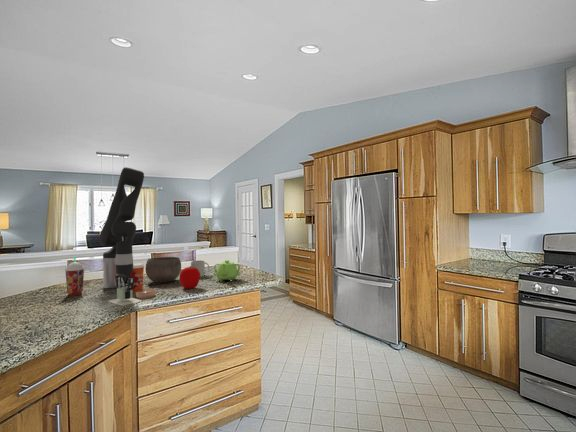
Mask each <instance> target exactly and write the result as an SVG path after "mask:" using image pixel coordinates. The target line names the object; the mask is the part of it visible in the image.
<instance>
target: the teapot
mask: <svg viewBox="0 0 576 432" xmlns="http://www.w3.org/2000/svg"><path fill="white" fill-rule="evenodd" d="M237 267H238V268H237ZM213 268H214V269H213V270H214V271H213V276H215V277H216V278H217V279H218V280H219V282H220V281H222V282H224V281H223V280H226V281H227V280H228V281H229V280H235V279H236V278H237V276H238V277H239V276H241V274H242V273H241V272H240V269H241V265H240V264H238V263H235V262H232V261H230V260H228V259H227V260H224V262H220V263H216V264H214V267H213ZM234 278H235V279H234Z"/></svg>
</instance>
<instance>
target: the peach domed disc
mask: <svg viewBox="0 0 576 432" xmlns="http://www.w3.org/2000/svg"><path fill="white" fill-rule="evenodd" d="M155 296H156V289H153V288H146V289H144V288H143V290H139V291H136V292H135V299H150V298H155Z"/></svg>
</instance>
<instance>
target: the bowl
mask: <svg viewBox="0 0 576 432" xmlns="http://www.w3.org/2000/svg"><path fill="white" fill-rule="evenodd" d="M181 261H182V260H181V259H180V257H179V256H178V257H177V256H164V257H163V256H161V257H152V258H147V261H146V263H145V267H144V268H145V274H146V277H148V279H149V280H150V281H152V282H154V283H167V282H168V283H169V282H172V281H174V280H176V279H178V277H180V273H181V271H182V262H181Z"/></svg>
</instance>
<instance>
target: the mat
mask: <svg viewBox="0 0 576 432" xmlns="http://www.w3.org/2000/svg"><path fill="white" fill-rule="evenodd" d="M138 302H142V300H141V299H139V298H136V297H133V298H130V299H125V300H120V299H117V298H114V299H109V300H108V303H111V304H112V303H113V304H115V305H118V306H121V307H123V306H126V305H130V304H133V303H134V304H135V303H138Z"/></svg>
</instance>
